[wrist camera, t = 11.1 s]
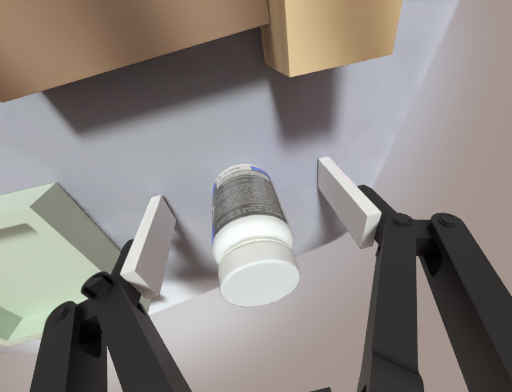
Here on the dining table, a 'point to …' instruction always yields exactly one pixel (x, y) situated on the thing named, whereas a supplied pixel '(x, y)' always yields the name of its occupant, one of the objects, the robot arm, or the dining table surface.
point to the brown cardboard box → (106, 35)
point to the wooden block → (327, 33)
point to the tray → (45, 258)
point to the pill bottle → (251, 238)
